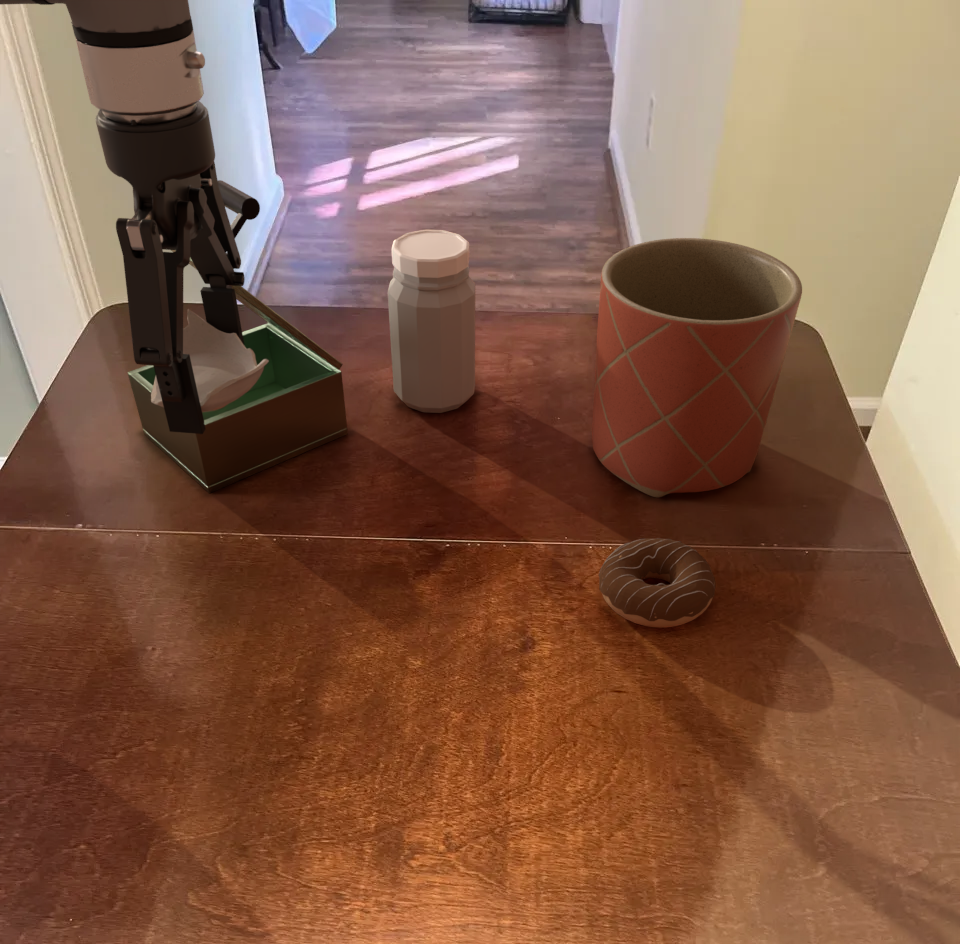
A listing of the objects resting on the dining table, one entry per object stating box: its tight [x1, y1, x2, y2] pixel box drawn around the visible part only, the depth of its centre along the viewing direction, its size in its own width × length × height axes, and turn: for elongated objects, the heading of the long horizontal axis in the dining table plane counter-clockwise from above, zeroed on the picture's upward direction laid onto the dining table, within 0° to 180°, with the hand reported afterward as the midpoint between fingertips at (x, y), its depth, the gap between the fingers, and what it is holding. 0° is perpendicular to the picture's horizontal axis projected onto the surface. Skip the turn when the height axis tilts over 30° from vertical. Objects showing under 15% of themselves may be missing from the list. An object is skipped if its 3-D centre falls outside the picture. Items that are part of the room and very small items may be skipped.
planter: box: [591, 237, 803, 498], centre depth 101 cm, size 19×19×20 cm
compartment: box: [127, 322, 348, 494], centre depth 108 cm, size 18×15×8 cm
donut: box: [597, 537, 716, 629], centre depth 90 cm, size 11×11×4 cm
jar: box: [387, 229, 476, 414], centre depth 110 cm, size 10×10×18 cm
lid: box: [170, 179, 343, 370], centre depth 101 cm, size 18×15×8 cm
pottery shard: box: [151, 309, 269, 412], centre depth 81 cm, size 10×11×5 cm
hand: (210, 394), depth 82 cm, fingers closed on pottery shard, 10 cm apart
